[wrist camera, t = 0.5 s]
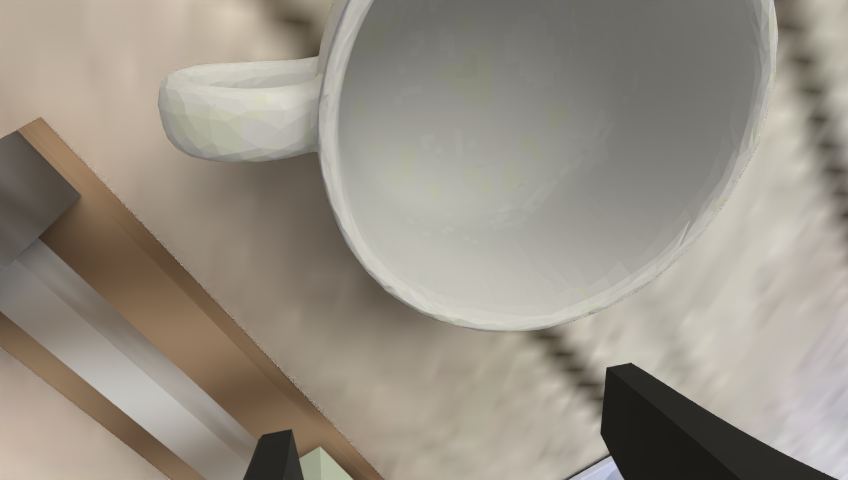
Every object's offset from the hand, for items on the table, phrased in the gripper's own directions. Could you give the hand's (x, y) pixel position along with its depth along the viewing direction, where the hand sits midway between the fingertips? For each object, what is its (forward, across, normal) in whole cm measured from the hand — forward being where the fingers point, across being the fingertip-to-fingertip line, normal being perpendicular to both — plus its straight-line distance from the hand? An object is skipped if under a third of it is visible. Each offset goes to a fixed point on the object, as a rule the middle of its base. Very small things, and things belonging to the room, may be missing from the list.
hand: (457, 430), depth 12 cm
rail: (+10, +8, +6) cm, 14 cm away
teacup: (+10, -2, -6) cm, 12 cm away
